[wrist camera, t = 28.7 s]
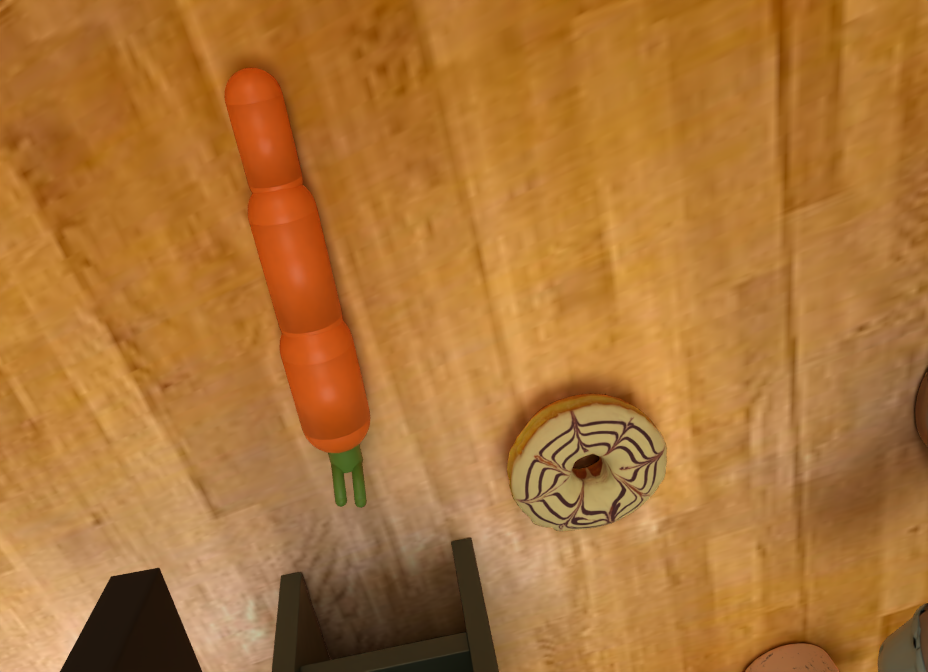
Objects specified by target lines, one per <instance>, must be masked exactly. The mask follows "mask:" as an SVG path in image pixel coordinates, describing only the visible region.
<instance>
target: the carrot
mask: <svg viewBox="0 0 928 672" xmlns="http://www.w3.org/2000/svg"><path fill="white" fill-rule="evenodd" d="M225 103H226V106H227V110H228V113H229V117H230V121H231V124H232V128H233V131H234V135H235V139H236V142H237V146H238V149H239V153H240V156H241V160H242V164H243V167H244V171H245V174H246V178H247V181H248V185H249V188H250V190H251V192H252V195H251V197H250V199H249V203H248V219H249V223H250V226H251V230H252V233H253V237H254V240H255V244H256V247H257V251H258V254H259V258H260V261H261V265H262V268H263V272H264V275H265V279H266V282H267V286H268V289H269V293H270V296H271V300H272V303H273V307H274V310H275V314H276V317H277V321H278V324H279V327H280V330H281V332H282V335H281V338H280V354H281V358H282V361H283V365H284V368H285V372H286V375H287V378H288V382H289V385H290V389H291V392H292V396H293V399H294V402H295V406H296V409H297V413H298V416H299V420H300V423H301V426H302V430H303V432H304V434H305V436H306V438H307V439H308V441H309V442H310V443H311V444H312V445H313V446H315V447H316V448H318V449H319V450H322V451H324V452H327V453H328V455H329V458H330V462H331V468H332V476H333V485H334V493H335V502H336V504H337V505H338V506H340V507H342V506H344V505H345V504H346V503H347V496H346V488H345V480H344V473H349V472H352V479H353V489H354V498H355V504H356V506H357V507H359V508H362V507H364V506H365V505H366V492H365V484H364V475H363V466H362V462H363V457H362V453H361V449H360V445H359V443H360V442H361V441H362V440H363V439H364V437H365V436H366V434H367V431H368V429H369V425H370V411H369V406H368V402H367V398H366V393H365V389H364V385H363V380H362V376H361V372H360V368H359V363H358V359H357V355H356V350H355V346H354V342H353V338H352V335H351V332H350V330H349V328H348V327H347V325H346V324H345V322H344V321H343V320H342V312H341V307H340V303H339V299H338V294H337V290H336V286H335V282H334V278H333V273H332V269H331V265H330V261H329V257H328V252H327V248H326V244H325V240H324V235H323V231H322V227H321V223H320V219H319V214H318V210H317V206H316V203H315V200H314V198H313V196H312V194H311V193H310V192H309V191H308V189H307V188H306V187H305V186H303V185H302V181H303V179H302V172H301V168H300V164H299V160H298V156H297V152H296V148H295V143H294V139H293V135H292V131H291V127H290V123H289V119H288V115H287V110H286V106H285V102H284V98H283V94H282V91H281V88H280V86H279V84H278V82H277V81H276V80H275V78H274V77H273V76H271V75H270V74H269V73H267V72H265V71H264V70H261V69H258V68H245V69H242V70H240V71H238V72H236V73H235V74H234V75H232V76H231V78H230V79H229V80H228V83H227V85H226V88H225Z"/></svg>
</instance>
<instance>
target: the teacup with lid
mask: <svg viewBox="0 0 928 672" xmlns="http://www.w3.org/2000/svg"><path fill="white" fill-rule="evenodd" d="M745 672H840V671H839V670H838V668H837V667H836V665H835V664H834V662H833V661H832V659H831V658H830V656H829V655H828V654H827V653H826V652H825V651H824V650H823V649H821V648H820V647H817V646H815V645H811V644H805V643H796V644H789V645H784V646H781V647H778V648H775V649H773V650H770V651H768V652H767V653H765V654H763V655H761V656H760V657H759V658H757V659H756V660H755V661H754V662H753V663H752V664H751V665H750V666H749V667H748V668H747V669H746V670H745Z"/></svg>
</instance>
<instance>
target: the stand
mask: <svg viewBox="0 0 928 672" xmlns="http://www.w3.org/2000/svg"><path fill="white" fill-rule="evenodd" d="M451 544H452V549H453V555H454V561H455V567H456V573H457V578H458V584H459V590H460V596H461V601H462V607H463V613H464V619H465V625H466V630H467V632H463V633H459V634H454V635H449V636H444V637H439V638H434V639H430V640H425V641H420V642H415V643H410V644H406V645H401V646H396V647H391V648H386V649H382V650H377V651H372V652H367V653H362V654H358V655H353V656H348V657H343V658H338V659H333V660H331V659H330V656H329V653H328V650H327V647H326V644H325V641H324V638H323V635H322V632H321V629H320V626H319V623H318V620H317V618H316V615H315V612H314V609H313V606H312V603H311V600H310V597H309V594H308V591H307V588H306V585H305V582H304V579H303V576H302V573H301V572H298V573H293V574H288V575H283V576H281V582H280V592H279V602H278V612H277V623H276V633H275V643H274V654H273V664H272V672H499V669H498V664H497V660H496V655H495V650H494V645H493V640H492V635H491V631H490V626H489V621H488V616H487V611H486V606H485V602H484V597H483V592H482V587H481V582H480V577H479V572H478V568H477V563H476V558H475V553H474V548H473V543H472V539H471V538H467V539H462V540H457V541H452V542H451Z"/></svg>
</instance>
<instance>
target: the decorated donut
mask: <svg viewBox="0 0 928 672" xmlns="http://www.w3.org/2000/svg"><path fill="white" fill-rule="evenodd" d="M590 454H595V455H597V456H600V459H599V461H598V462H596V463H595V464H592V465H591V466H589V467H585V468H583V469H582V468H581V469H574V468H573V466H574V463H575V462H576V461H577V460H578V459H580V458H582V457H584V456H587V455H590ZM666 463H667V447H666V443H665V441H664V439H663V437H662V434H661V433H660V432H659V430H658V429H657V428H656V427H655V425H654V424H653V423H652V421H651V420H650V419H649V418H648V417H647V416H646V415H645V414H644V413H642V412H641V411H640V410H639V409H637V408H636V407H634V406H632V405H631V404H630V403H627V402H626V401H623V400H621V399H619V398H616V397H612V396H608V395H606V394H605V395H603V394H602V395H601V394H591V393H590V394H580V395H573V396H571V397H568V398H564V399H561V400H558V401H555V402H553V403H551V404H550V405H547V406H545V407H543V408H542V409H541V410H539V411H538V412H537V413H536V414H535V415H534V416H533V417H532V419H531V420H530V421H529V422H528V423H527V424H526V426H525V427H524V429H523V430H522V432H521V433H520V434H519V435H518V437H517V438H516V440H515V443H514V445H513V446H512V448H511V450H510V452H509V457H508V463H507V473H508V477H509V480H510V484H509V486H510V489H511V493H512V496H513V498H514V500H515V501H516V503H517V505H518V506H519V507H520V508H521V509H522V511H523V512H524V513H525V514H527V516H528V517H530V518H531V520H532V522H533V523H534V524H536V525H539V526H542V527H549V528H553V529H555V530H556V531H571V530H579V529H591V528H596V527H601V526H604V525H607V524H610V523H613V522H615V521H618V520H620V519H621V518H623V517H625V516H627V515H629V514H631V513H633V512H634V511H635V510H637V509H638V508H639V507H640V506H641V505H643V504H644V503H645V502H646V501H647V500H648V499H649V498H650V497H651V496H652V495H653V494H654V493H655V491H656V490H657V488H658V486H659V485H660V483H661V482H662V481H663V479H664V477H665V472H666Z"/></svg>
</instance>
